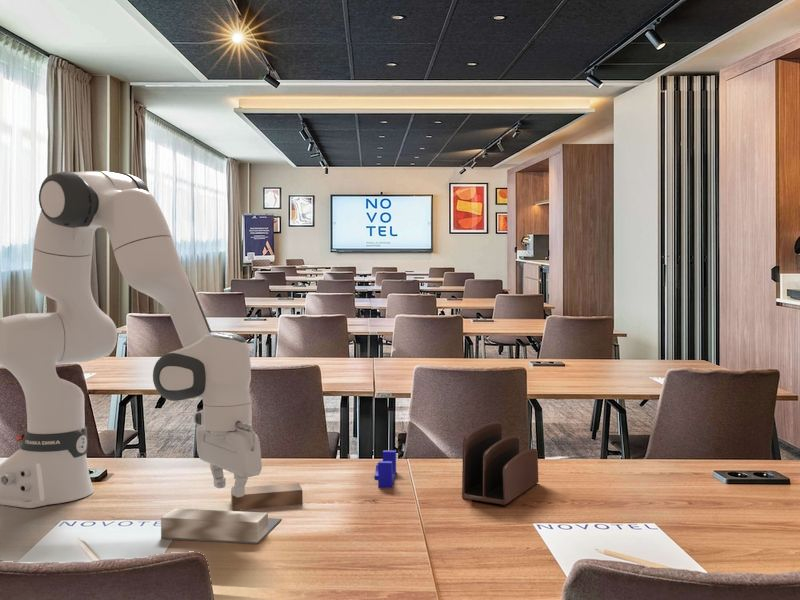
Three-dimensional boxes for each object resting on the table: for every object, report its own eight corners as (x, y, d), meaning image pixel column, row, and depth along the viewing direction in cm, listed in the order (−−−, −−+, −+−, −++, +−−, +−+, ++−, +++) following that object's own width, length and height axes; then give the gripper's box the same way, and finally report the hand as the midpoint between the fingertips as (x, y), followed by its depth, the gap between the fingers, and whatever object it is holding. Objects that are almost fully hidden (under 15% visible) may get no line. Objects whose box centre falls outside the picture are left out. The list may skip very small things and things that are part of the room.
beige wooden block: (161, 537, 130) (160, 517, 130) (175, 527, 135) (175, 508, 135) (257, 542, 127) (257, 522, 127) (267, 531, 133) (267, 512, 132)
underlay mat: (161, 538, 130) (161, 537, 130) (193, 515, 143) (193, 514, 143) (257, 543, 127) (257, 542, 127) (281, 520, 140) (281, 518, 140)
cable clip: (377, 475, 173) (377, 450, 173) (396, 475, 173) (396, 450, 173) (371, 489, 161) (371, 462, 161) (391, 490, 161) (391, 462, 161)
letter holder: (461, 499, 154) (461, 432, 153) (498, 477, 171) (498, 417, 170) (505, 506, 149) (505, 437, 148) (539, 483, 166) (539, 421, 165)
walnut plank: (232, 512, 146) (232, 495, 146) (231, 504, 151) (231, 488, 151) (302, 506, 150) (302, 489, 150) (298, 499, 155) (298, 482, 155)
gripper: (269, 423, 131) (270, 500, 131) (220, 409, 147) (221, 478, 147) (237, 428, 127) (238, 507, 127) (190, 413, 143) (191, 483, 143)
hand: (228, 491), depth 137 cm, fingers open, 6 cm apart
